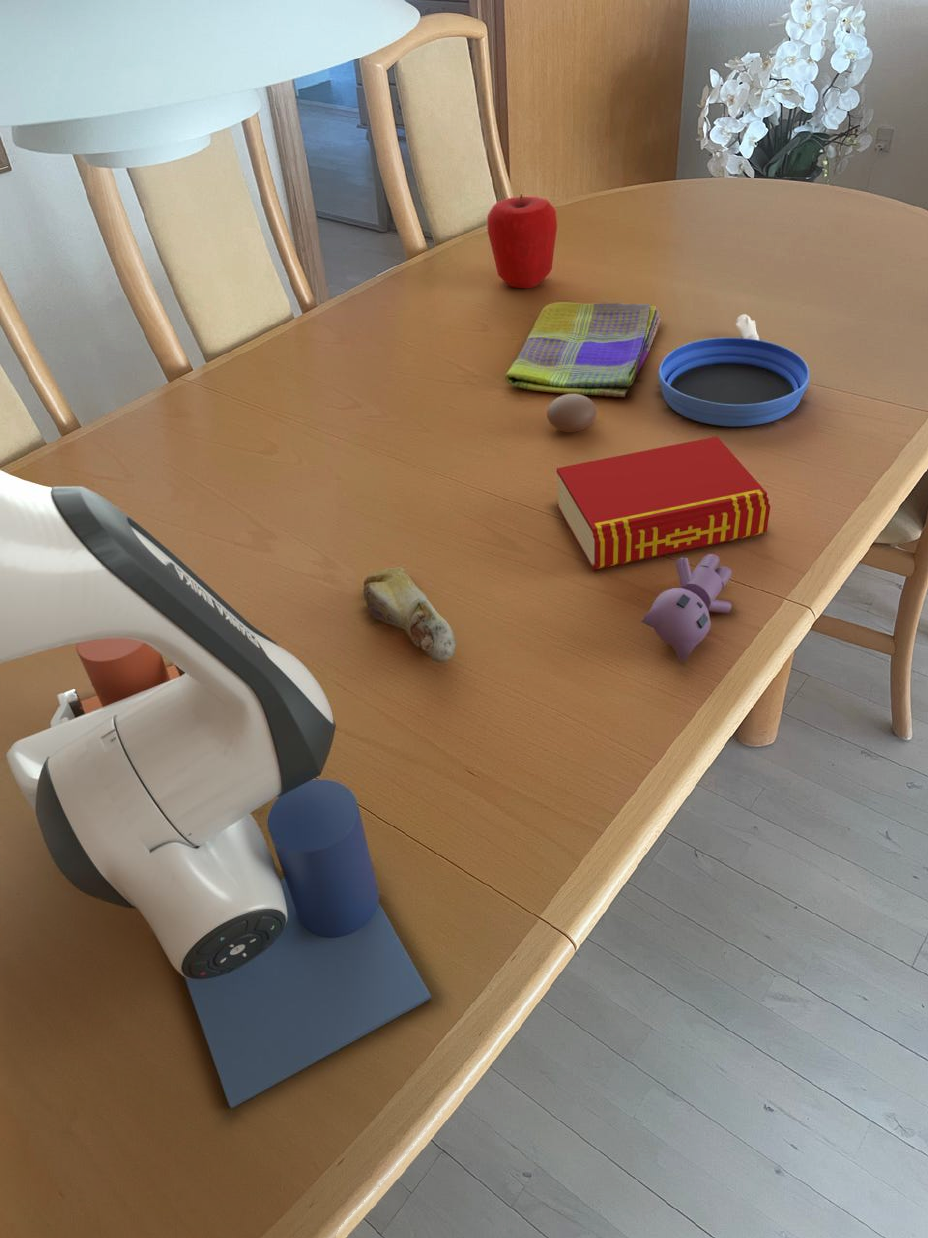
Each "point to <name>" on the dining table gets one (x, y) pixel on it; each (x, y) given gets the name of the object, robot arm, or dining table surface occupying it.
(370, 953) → the blue mat
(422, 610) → the weathered bone fragment
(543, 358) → the dish towel
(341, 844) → the blue canister
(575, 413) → the egg
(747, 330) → the small white plastic part
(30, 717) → the dining table surface
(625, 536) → the book
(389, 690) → the dining table surface
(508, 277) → the apple
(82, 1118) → the dining table surface
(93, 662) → the terracotta canister
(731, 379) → the bowl
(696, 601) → the figurine
